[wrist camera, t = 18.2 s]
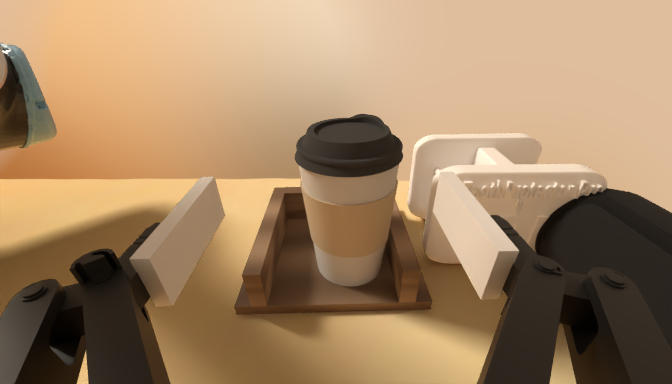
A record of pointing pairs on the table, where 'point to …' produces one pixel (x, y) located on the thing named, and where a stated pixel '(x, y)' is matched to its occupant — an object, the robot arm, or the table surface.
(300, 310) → the brown wooden tray
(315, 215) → the coffee cup
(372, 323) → the table surface
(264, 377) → the table surface
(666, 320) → the portable speaker
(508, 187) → the cable organizer
